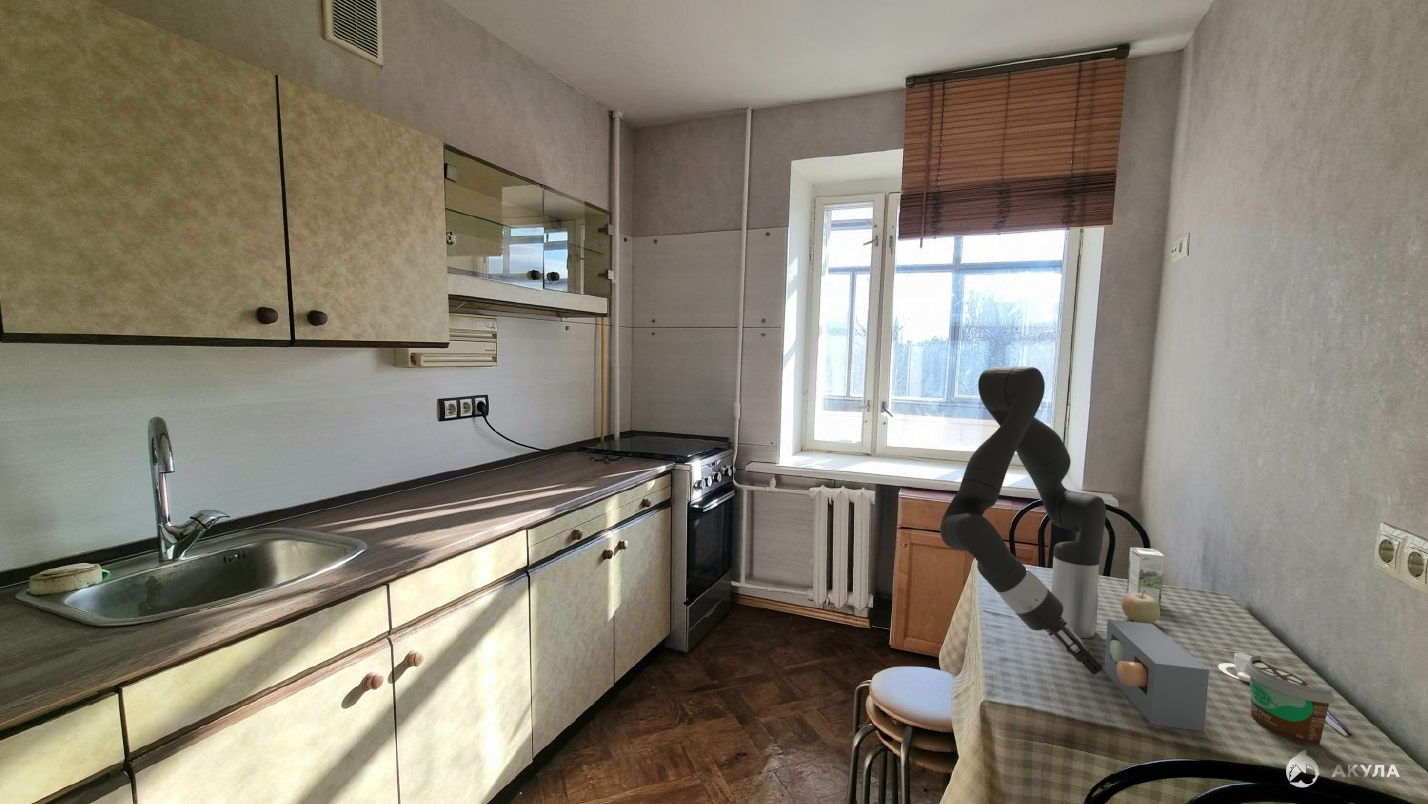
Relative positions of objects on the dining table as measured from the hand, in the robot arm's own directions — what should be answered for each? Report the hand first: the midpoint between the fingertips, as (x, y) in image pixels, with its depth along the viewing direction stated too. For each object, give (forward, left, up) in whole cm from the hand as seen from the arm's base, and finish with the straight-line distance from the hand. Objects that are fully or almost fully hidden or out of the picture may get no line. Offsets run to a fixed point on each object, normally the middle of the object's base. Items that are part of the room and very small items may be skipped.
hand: (1097, 669), depth 104 cm
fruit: (-48, -17, -7) cm, 51 cm away
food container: (-22, +17, -7) cm, 29 cm away
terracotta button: (-5, +4, -2) cm, 6 cm away
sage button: (-12, -2, -2) cm, 13 cm away
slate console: (-11, +3, -6) cm, 14 cm away
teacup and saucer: (-38, +5, -7) cm, 39 cm away
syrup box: (-62, -23, -7) cm, 66 cm away
